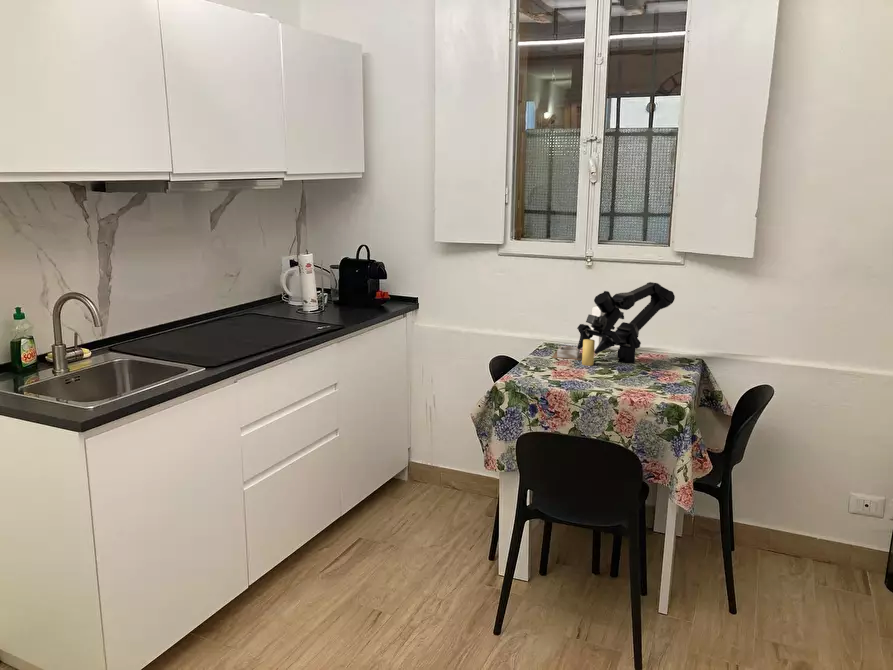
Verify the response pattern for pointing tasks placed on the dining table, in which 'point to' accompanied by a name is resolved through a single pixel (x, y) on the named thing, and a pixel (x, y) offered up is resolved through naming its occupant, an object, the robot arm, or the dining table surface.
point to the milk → (597, 339)
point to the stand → (568, 353)
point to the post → (588, 352)
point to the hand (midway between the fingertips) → (586, 350)
